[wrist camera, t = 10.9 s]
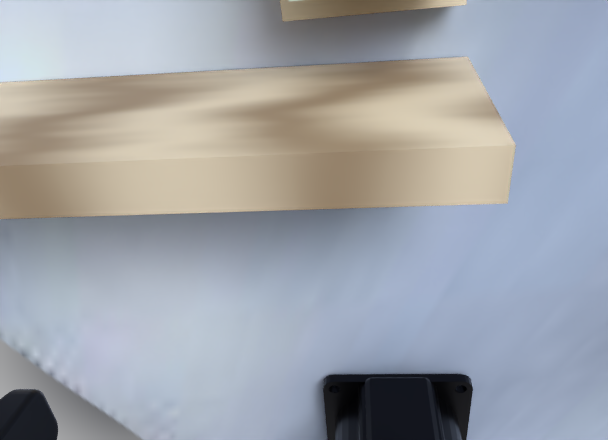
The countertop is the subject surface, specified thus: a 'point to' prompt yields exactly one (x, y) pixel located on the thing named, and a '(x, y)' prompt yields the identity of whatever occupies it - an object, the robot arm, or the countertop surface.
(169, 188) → the beige shallow tray
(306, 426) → the countertop surface
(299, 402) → the countertop surface
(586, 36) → the countertop surface
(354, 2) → the offcut low
